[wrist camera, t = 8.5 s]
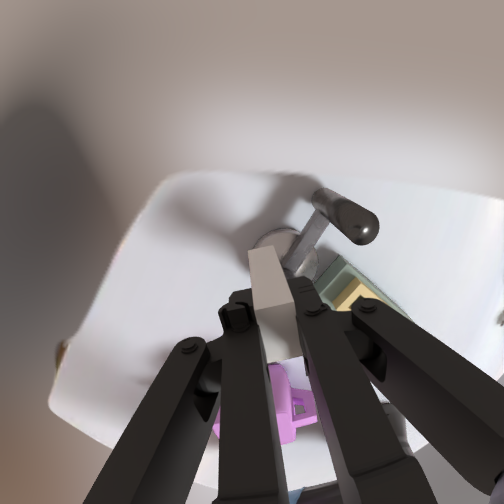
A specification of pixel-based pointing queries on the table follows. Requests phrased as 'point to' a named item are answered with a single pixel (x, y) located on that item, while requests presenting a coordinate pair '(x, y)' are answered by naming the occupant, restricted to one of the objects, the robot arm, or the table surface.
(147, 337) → the table surface
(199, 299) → the table surface
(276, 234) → the cam capstan
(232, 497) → the robot arm
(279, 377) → the teapot
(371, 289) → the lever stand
